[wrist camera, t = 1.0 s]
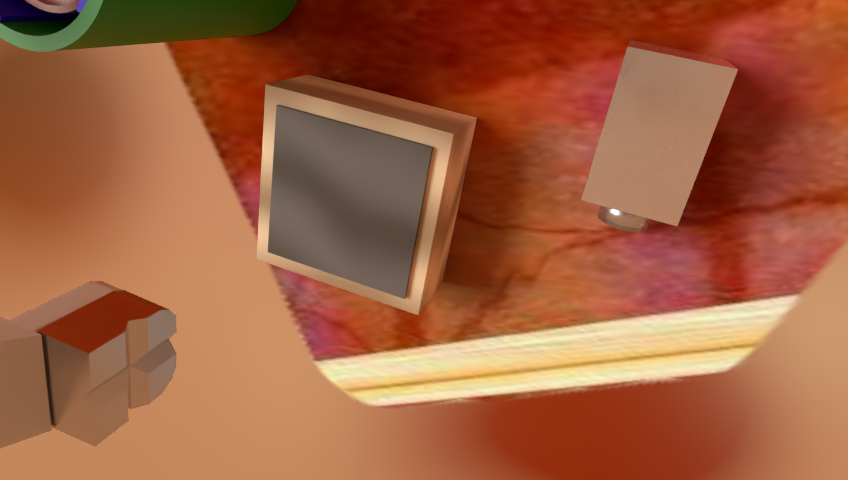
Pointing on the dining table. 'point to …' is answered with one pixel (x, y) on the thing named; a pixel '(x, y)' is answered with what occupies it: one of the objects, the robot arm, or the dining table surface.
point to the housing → (656, 134)
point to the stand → (360, 188)
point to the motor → (133, 21)
